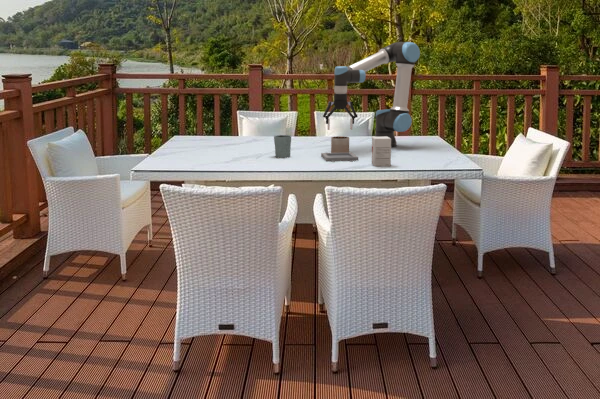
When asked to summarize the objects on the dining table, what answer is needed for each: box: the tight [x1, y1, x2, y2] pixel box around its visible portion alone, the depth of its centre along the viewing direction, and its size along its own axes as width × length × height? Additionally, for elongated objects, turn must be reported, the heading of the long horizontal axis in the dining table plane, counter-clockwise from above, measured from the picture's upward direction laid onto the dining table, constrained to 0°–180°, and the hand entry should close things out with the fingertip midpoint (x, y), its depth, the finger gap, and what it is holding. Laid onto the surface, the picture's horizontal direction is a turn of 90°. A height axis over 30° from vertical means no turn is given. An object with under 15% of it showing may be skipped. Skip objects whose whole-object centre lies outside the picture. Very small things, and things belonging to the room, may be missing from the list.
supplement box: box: [371, 136, 392, 167], centre depth 386 cm, size 9×9×15 cm
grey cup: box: [273, 134, 292, 159], centre depth 416 cm, size 10×10×12 cm
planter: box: [330, 135, 350, 153], centre depth 427 cm, size 11×11×10 cm
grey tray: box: [320, 151, 359, 163], centre depth 408 cm, size 18×21×2 cm
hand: (339, 129), depth 425 cm, fingers open, 13 cm apart
